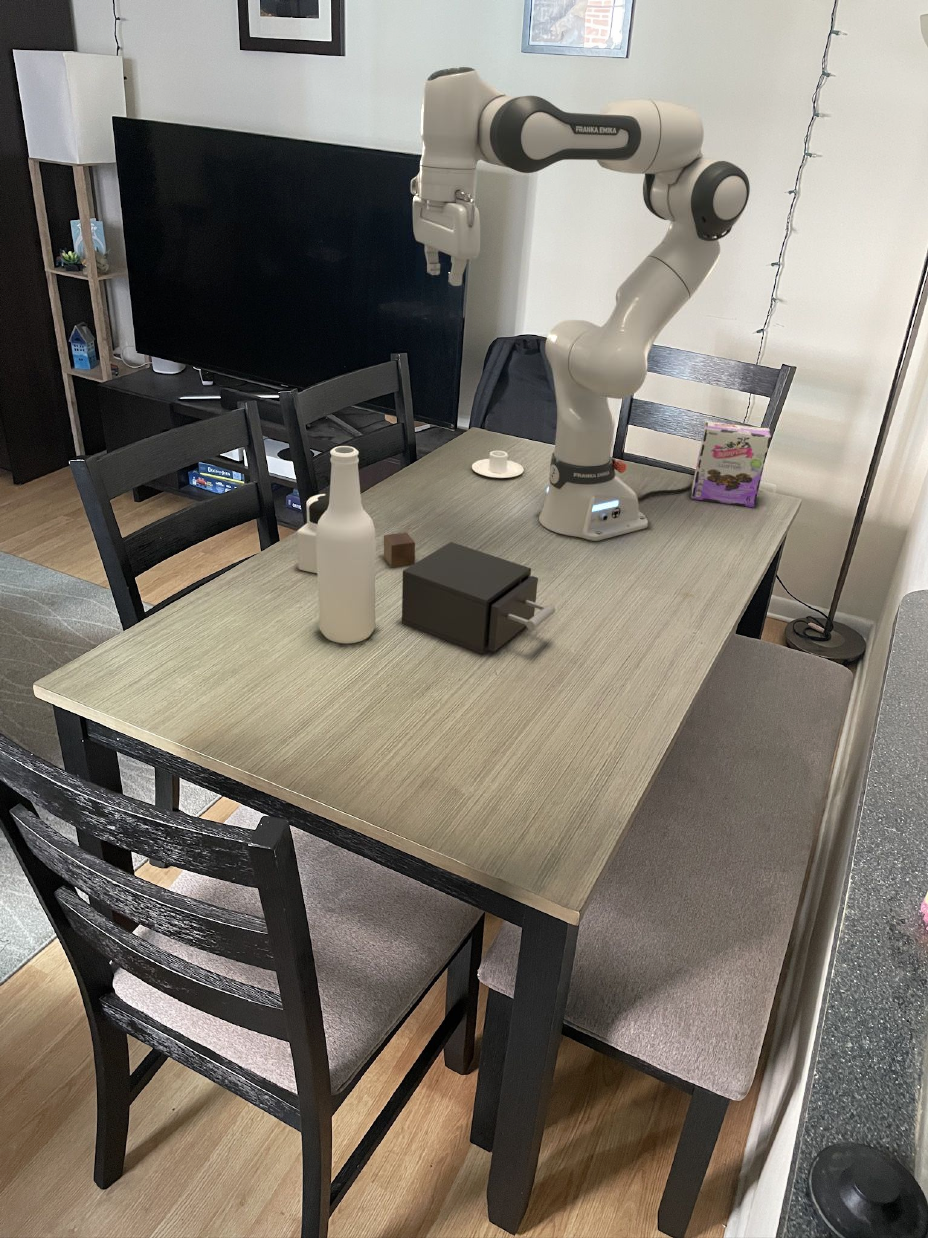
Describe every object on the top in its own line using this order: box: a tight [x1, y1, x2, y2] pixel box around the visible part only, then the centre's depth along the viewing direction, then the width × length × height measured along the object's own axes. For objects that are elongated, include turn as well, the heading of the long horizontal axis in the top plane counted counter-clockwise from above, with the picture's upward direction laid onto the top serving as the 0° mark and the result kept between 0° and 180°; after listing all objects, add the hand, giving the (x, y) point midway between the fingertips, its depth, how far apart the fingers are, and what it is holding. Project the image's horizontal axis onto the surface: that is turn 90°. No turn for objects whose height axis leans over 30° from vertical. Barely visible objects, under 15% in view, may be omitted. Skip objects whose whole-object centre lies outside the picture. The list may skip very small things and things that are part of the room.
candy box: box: [691, 420, 772, 508], centre depth 195 cm, size 14×6×16 cm, turn 76°
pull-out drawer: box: [486, 575, 556, 652], centre depth 142 cm, size 20×12×8 cm, turn 57°
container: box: [296, 493, 330, 574], centre depth 158 cm, size 8×8×13 cm
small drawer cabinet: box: [401, 541, 532, 655], centre depth 144 cm, size 16×14×10 cm
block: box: [383, 531, 416, 568], centre depth 163 cm, size 4×4×4 cm
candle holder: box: [471, 450, 524, 479], centre depth 205 cm, size 12×12×4 cm
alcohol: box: [316, 445, 376, 644], centre depth 134 cm, size 9×9×30 cm
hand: (444, 279), depth 148 cm, fingers open, 8 cm apart
